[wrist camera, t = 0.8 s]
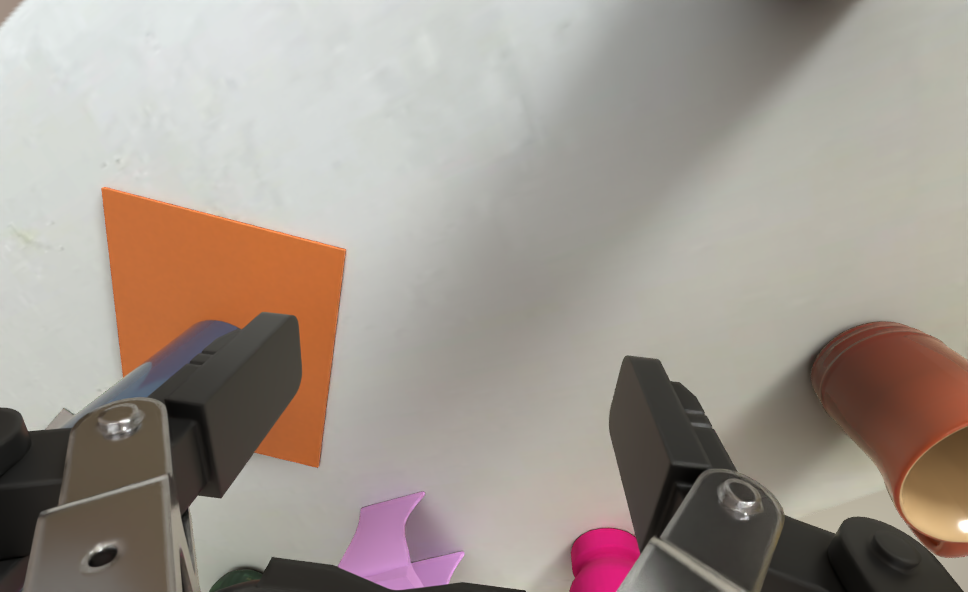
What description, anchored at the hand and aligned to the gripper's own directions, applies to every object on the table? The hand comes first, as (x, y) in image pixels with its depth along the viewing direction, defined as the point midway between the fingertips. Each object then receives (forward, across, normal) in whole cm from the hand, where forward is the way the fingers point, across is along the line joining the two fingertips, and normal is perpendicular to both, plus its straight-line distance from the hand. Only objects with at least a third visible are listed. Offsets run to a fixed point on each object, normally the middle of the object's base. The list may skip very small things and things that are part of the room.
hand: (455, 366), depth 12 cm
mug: (+19, -26, +10) cm, 34 cm away
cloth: (+19, +19, +13) cm, 30 cm away
